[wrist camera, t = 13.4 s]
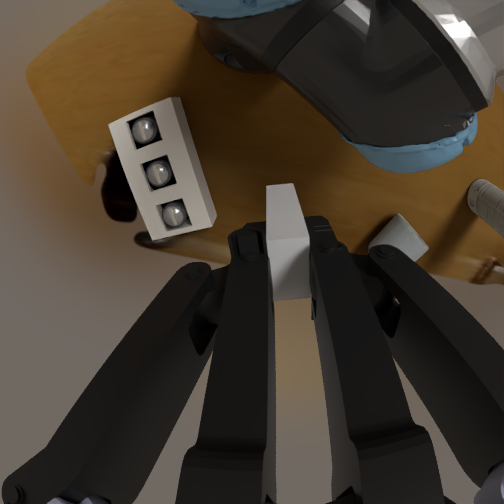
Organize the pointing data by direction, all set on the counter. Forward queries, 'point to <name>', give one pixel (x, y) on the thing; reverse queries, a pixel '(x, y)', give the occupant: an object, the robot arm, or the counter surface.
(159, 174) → the knob mid
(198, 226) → the console
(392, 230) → the ceramic mug
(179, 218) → the knob
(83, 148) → the counter surface
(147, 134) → the knob
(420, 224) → the counter surface
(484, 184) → the spray can
